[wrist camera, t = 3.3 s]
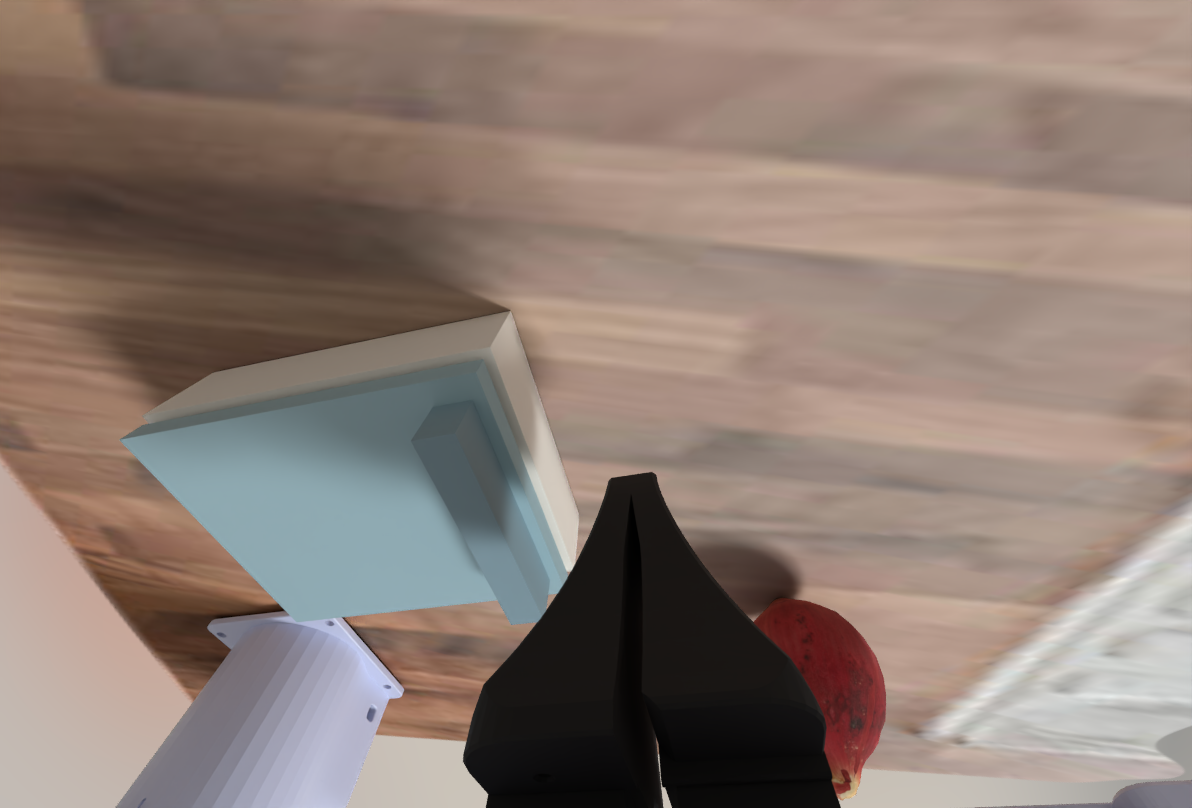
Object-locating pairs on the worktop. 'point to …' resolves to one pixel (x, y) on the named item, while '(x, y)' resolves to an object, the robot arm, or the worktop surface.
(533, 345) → the worktop surface
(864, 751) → the onion
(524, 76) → the worktop surface
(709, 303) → the worktop surface
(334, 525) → the lid
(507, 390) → the box
